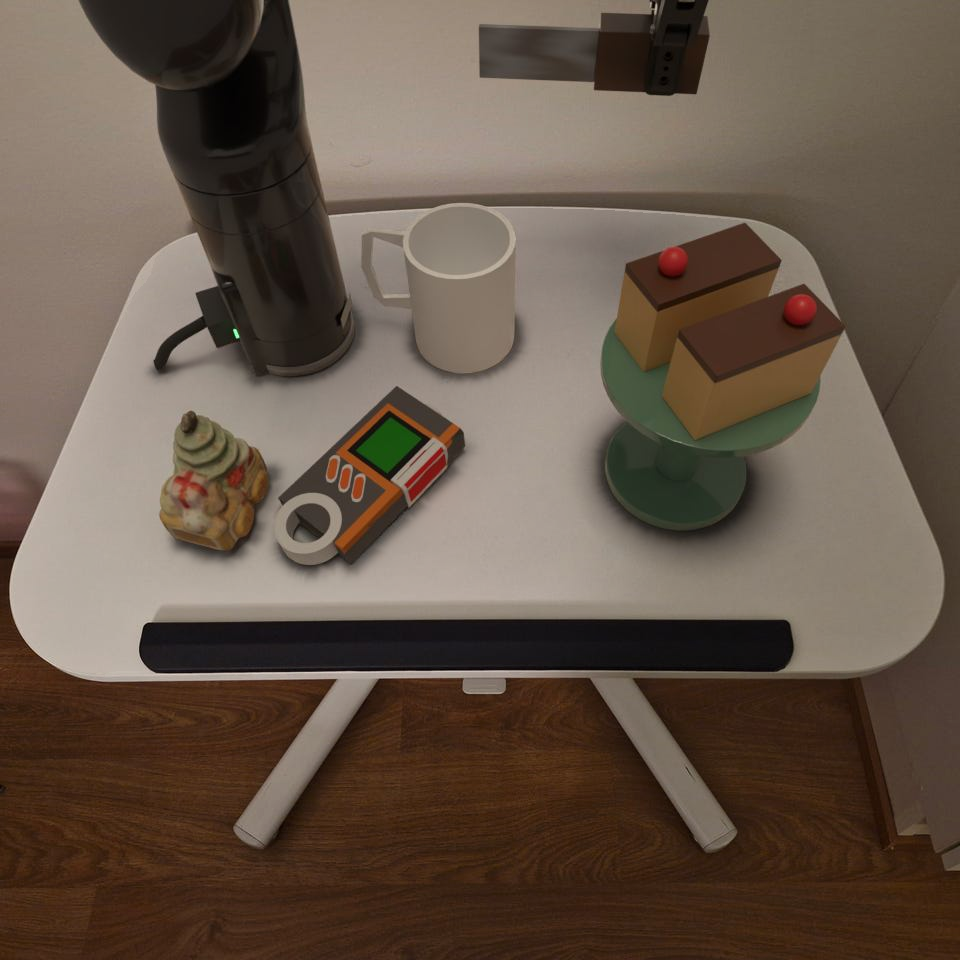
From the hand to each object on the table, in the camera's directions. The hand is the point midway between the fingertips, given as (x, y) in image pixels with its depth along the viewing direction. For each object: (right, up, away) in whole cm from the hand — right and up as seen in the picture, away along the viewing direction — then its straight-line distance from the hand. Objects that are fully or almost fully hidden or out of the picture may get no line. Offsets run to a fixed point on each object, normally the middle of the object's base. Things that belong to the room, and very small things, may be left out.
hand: (659, 79), depth 54 cm
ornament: (-31, -30, +3) cm, 43 cm away
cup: (-15, -15, +12) cm, 25 cm away
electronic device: (-21, -29, +3) cm, 35 cm away
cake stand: (+2, -27, +3) cm, 27 cm away
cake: (+2, -21, -7) cm, 22 cm away
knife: (-5, 0, +1) cm, 5 cm away
